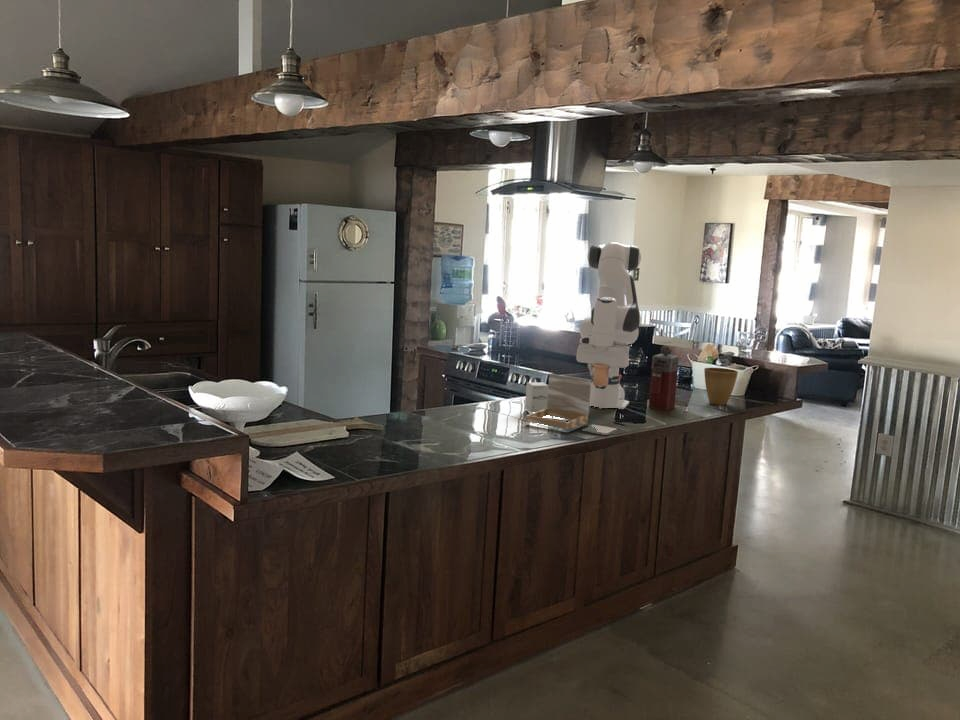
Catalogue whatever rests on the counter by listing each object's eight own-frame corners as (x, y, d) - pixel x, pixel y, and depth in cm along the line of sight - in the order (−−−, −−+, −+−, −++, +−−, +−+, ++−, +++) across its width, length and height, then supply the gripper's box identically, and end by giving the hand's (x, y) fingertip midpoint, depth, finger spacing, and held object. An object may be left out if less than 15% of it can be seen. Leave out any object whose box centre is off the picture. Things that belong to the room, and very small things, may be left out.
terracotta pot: (596, 382, 299) (597, 362, 297) (611, 384, 295) (612, 364, 294) (589, 384, 293) (590, 363, 292) (604, 387, 290) (606, 365, 289)
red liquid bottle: (646, 408, 343) (651, 345, 339) (655, 404, 353) (660, 343, 348) (665, 411, 339) (670, 347, 334) (674, 407, 348) (679, 345, 344)
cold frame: (547, 417, 317) (550, 373, 314) (588, 424, 308) (591, 379, 305) (525, 425, 301) (528, 379, 298) (567, 433, 292) (570, 386, 289)
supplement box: (530, 415, 319) (532, 385, 317) (524, 411, 326) (526, 381, 324) (547, 415, 321) (549, 385, 319) (541, 411, 328) (542, 381, 326)
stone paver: (592, 426, 304) (592, 424, 304) (616, 431, 299) (616, 428, 299) (581, 431, 295) (581, 429, 295) (606, 435, 290) (606, 433, 290)
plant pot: (739, 407, 353) (742, 373, 350) (706, 406, 353) (709, 371, 350) (729, 401, 367) (732, 367, 365) (697, 399, 368) (700, 366, 365)
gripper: (632, 342, 289) (630, 379, 291) (582, 337, 300) (580, 372, 302) (626, 344, 284) (623, 381, 286) (575, 338, 294) (573, 374, 297)
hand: (601, 376), depth 294 cm, fingers closed on terracotta pot, 6 cm apart
